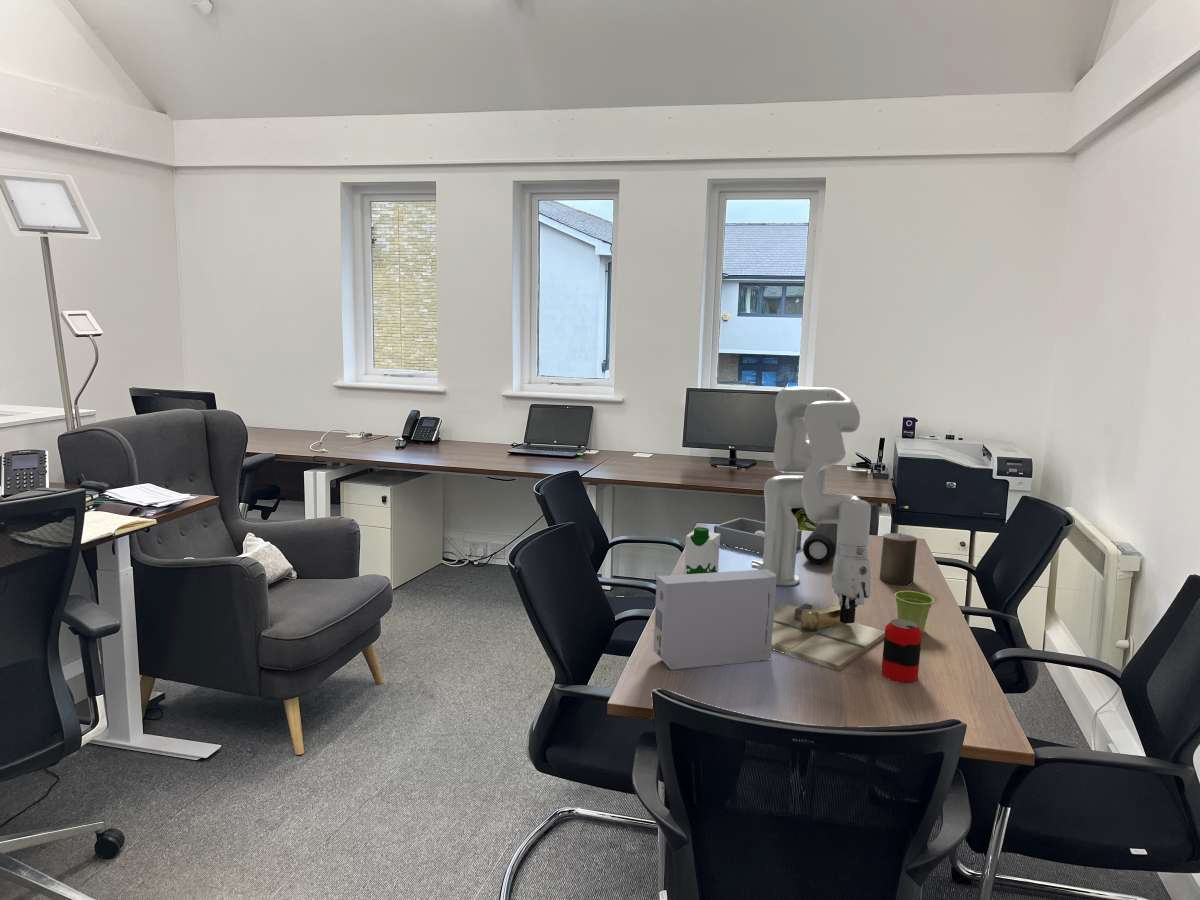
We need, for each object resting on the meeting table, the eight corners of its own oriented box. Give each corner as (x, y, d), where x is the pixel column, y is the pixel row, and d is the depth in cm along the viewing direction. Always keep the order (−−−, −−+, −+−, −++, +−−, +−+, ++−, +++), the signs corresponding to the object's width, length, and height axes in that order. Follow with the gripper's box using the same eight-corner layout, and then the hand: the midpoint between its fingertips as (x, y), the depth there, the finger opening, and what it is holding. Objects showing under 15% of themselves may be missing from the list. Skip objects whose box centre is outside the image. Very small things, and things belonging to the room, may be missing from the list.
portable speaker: (814, 545, 284) (816, 517, 283) (843, 549, 280) (846, 521, 279) (800, 564, 261) (802, 534, 260) (832, 569, 257) (834, 538, 256)
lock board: (729, 636, 199) (730, 620, 198) (783, 607, 220) (784, 593, 220) (838, 670, 181) (839, 653, 181) (886, 635, 203) (887, 620, 202)
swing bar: (808, 632, 198) (810, 613, 197) (797, 627, 201) (798, 608, 200) (853, 622, 205) (854, 604, 205) (841, 617, 209) (842, 599, 208)
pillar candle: (913, 587, 241) (918, 538, 239) (879, 582, 244) (883, 534, 242) (912, 578, 251) (917, 530, 248) (878, 574, 254) (883, 527, 251)
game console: (774, 660, 186) (780, 576, 182) (662, 671, 178) (666, 584, 175) (762, 650, 191) (767, 568, 188) (652, 661, 183) (656, 575, 180)
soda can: (898, 685, 175) (903, 632, 173) (873, 671, 182) (878, 619, 180) (925, 680, 178) (930, 627, 176) (899, 666, 185) (904, 615, 183)
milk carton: (679, 599, 224) (683, 528, 221) (690, 589, 233) (693, 521, 229) (710, 604, 221) (714, 533, 218) (720, 595, 229) (724, 525, 226)
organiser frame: (713, 542, 283) (714, 526, 282) (739, 533, 297) (740, 517, 296) (775, 557, 268) (776, 539, 267) (800, 546, 282) (801, 529, 281)
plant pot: (929, 626, 210) (933, 593, 209) (932, 639, 202) (935, 605, 200) (891, 620, 213) (894, 588, 212) (891, 633, 204) (894, 600, 203)
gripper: (884, 556, 194) (879, 631, 196) (846, 542, 208) (841, 611, 210) (857, 558, 191) (852, 634, 194) (821, 543, 205) (816, 614, 208)
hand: (847, 622), depth 202 cm, fingers closed
